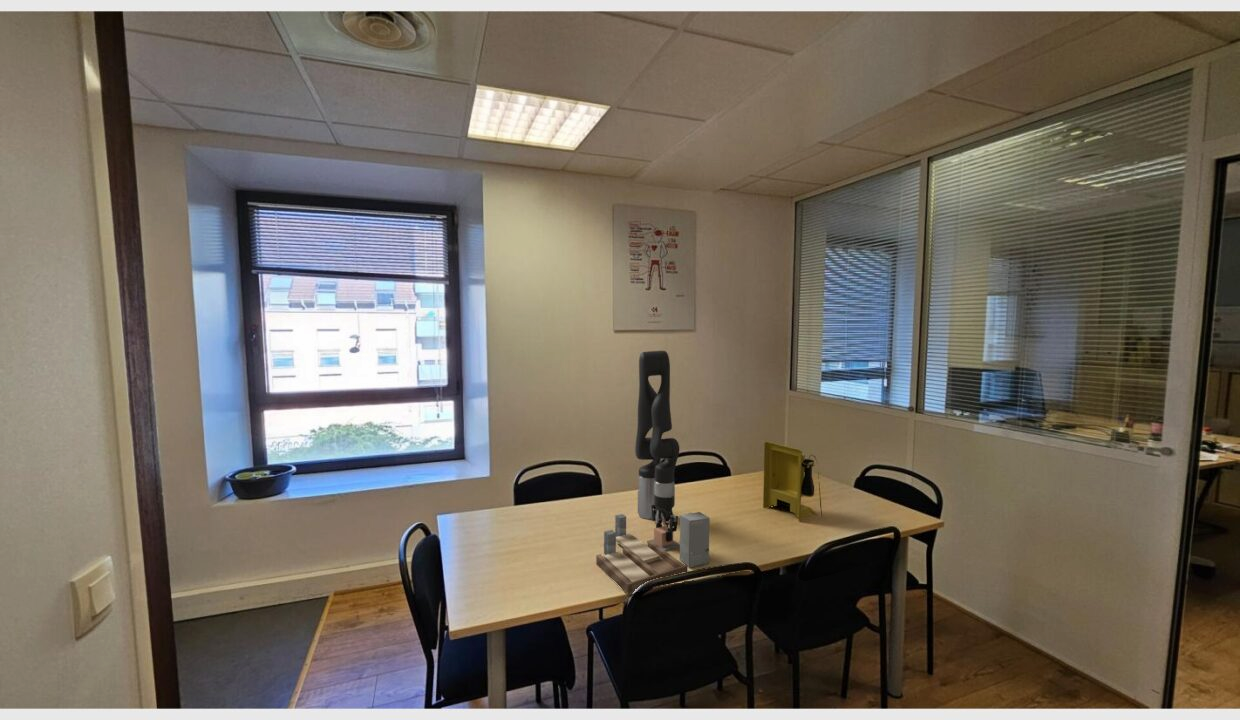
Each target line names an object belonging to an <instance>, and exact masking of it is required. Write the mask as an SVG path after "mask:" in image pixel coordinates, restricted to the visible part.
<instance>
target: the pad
mask: <svg viewBox="0 0 1240 720" xmlns="http://www.w3.org/2000/svg"><path fill="white" fill-rule="evenodd" d="M648 541H652V542H654V538H653V539H650V540H647V541H646V544H648ZM654 543H655V542H654ZM655 544H656V545H658V544H657V543H655ZM658 546H659V547H661V546H660V545H658ZM661 548H662V549H663V550H665V551H666V552H668V551H669V550H674V549H678V548H680V543H678V542H677V541H675V540H674V539H673V544H671V545H668V546H664V547H661Z"/></svg>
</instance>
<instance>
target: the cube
mask: <svg viewBox="0 0 1240 720" xmlns="http://www.w3.org/2000/svg"><path fill="white" fill-rule="evenodd" d="M653 539H654V542H655V543H657V544H658V545H660V546H661V547H664V546H668V545H671V544H673V540H674V532H672V541H670V542H667V541H666V527H665V526H664V525H662V527H658V528H656V527H655V528H653Z"/></svg>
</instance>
